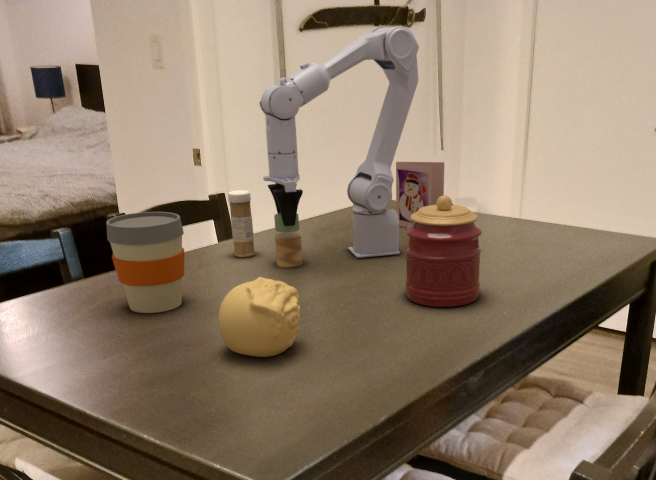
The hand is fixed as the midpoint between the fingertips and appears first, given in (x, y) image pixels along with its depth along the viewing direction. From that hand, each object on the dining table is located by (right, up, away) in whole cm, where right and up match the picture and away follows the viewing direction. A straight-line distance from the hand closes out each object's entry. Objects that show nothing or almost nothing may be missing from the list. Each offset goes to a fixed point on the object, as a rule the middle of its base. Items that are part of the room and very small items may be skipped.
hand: (287, 222), depth 152 cm
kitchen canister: (+29, -17, -18) cm, 38 cm away
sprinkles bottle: (-10, -5, +11) cm, 15 cm away
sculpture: (0, -27, -39) cm, 47 cm away
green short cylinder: (0, -1, +1) cm, 1 cm away
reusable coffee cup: (-21, -18, -18) cm, 34 cm away
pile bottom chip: (0, -8, +4) cm, 8 cm away
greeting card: (+29, +5, +31) cm, 43 cm away
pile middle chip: (0, -5, +2) cm, 6 cm away
